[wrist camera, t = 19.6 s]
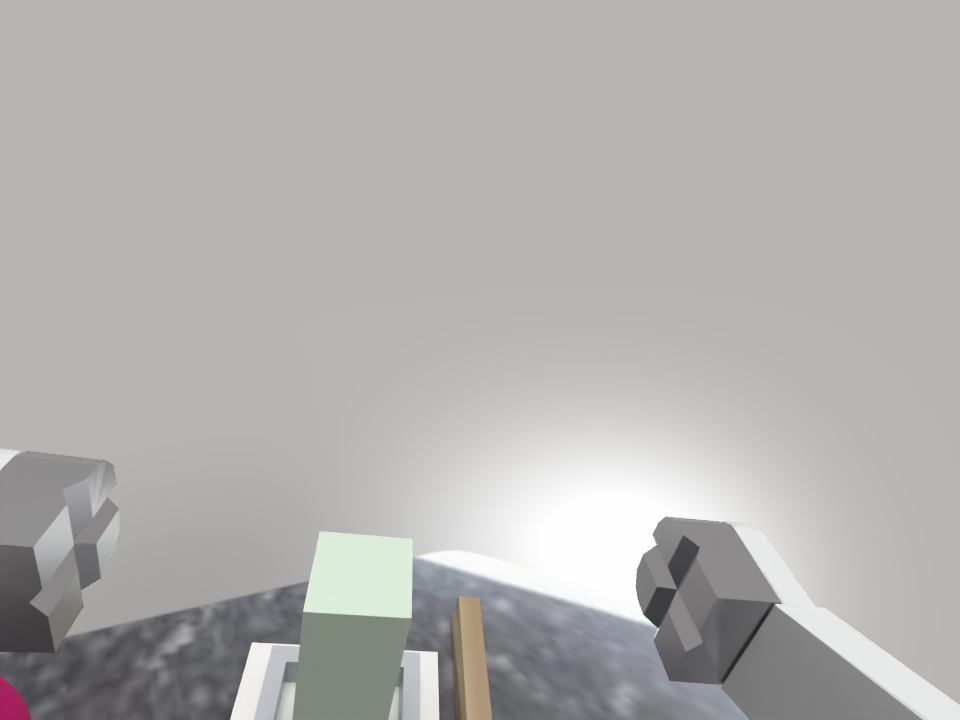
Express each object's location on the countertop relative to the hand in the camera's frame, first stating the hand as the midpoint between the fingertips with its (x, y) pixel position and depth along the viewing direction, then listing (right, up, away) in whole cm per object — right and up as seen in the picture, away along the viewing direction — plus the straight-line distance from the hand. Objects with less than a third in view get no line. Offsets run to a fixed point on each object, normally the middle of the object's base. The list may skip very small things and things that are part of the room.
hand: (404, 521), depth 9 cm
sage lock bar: (-7, -19, +24) cm, 31 cm away
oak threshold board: (0, -21, +27) cm, 34 cm away
